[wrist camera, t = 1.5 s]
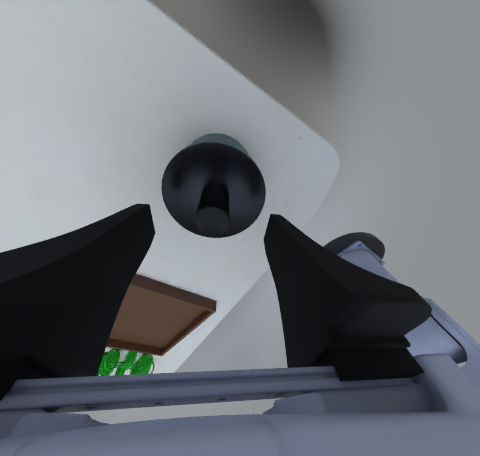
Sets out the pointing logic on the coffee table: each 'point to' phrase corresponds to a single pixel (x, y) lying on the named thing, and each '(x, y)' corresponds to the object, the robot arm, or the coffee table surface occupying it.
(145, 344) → the tray
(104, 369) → the chandelier
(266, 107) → the coffee table surface
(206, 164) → the lid
